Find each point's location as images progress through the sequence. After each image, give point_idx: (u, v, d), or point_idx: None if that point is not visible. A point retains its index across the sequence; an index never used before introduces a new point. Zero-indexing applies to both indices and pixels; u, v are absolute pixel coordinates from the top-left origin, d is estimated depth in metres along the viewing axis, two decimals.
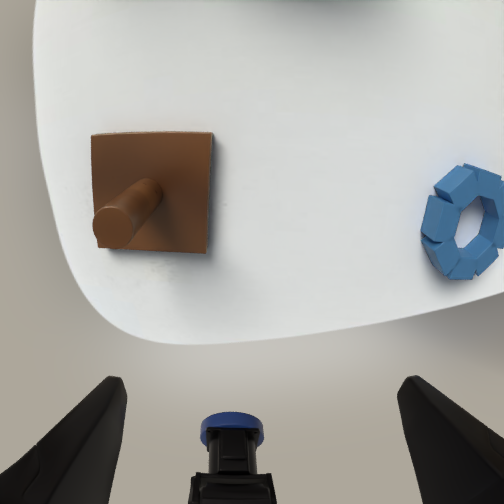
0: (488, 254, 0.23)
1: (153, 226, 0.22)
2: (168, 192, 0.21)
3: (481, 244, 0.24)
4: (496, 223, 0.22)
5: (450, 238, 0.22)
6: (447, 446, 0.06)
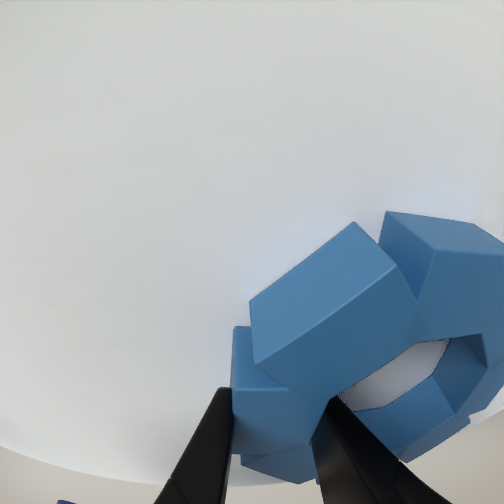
0: (439, 433, 0.09)
1: None
2: None
3: (427, 410, 0.09)
4: (478, 375, 0.08)
5: (293, 447, 0.08)
6: (347, 473, 0.06)
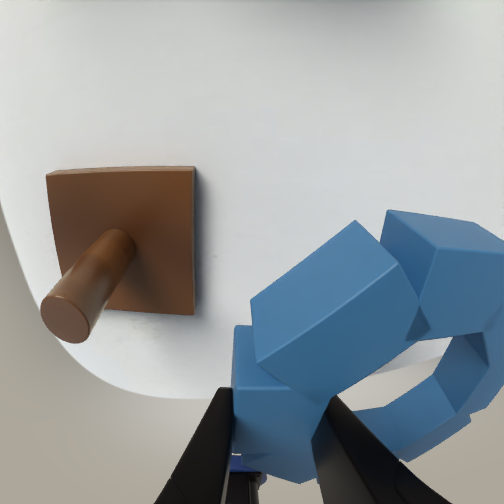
0: (440, 432, 0.09)
1: (128, 284, 0.17)
2: (142, 246, 0.16)
3: (428, 410, 0.09)
4: (479, 374, 0.08)
5: (294, 446, 0.08)
6: (347, 473, 0.06)
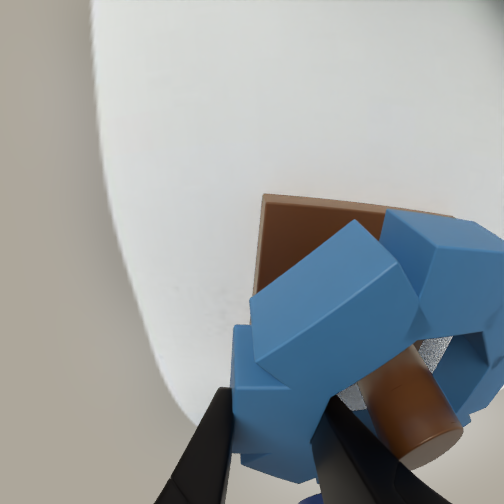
0: None
1: None
2: None
3: None
4: (479, 374, 0.08)
5: (294, 446, 0.08)
6: (347, 474, 0.06)
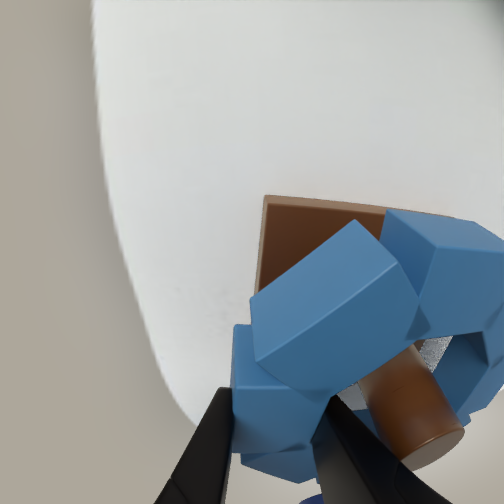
0: None
1: None
2: None
3: None
4: (479, 374, 0.08)
5: (294, 446, 0.08)
6: (347, 474, 0.06)
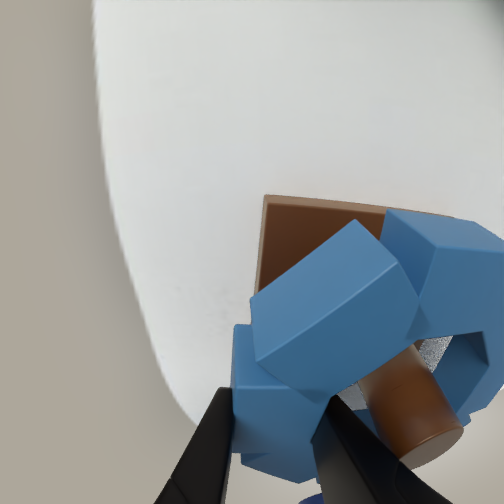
0: None
1: None
2: None
3: None
4: (479, 374, 0.08)
5: (294, 445, 0.08)
6: (348, 473, 0.06)
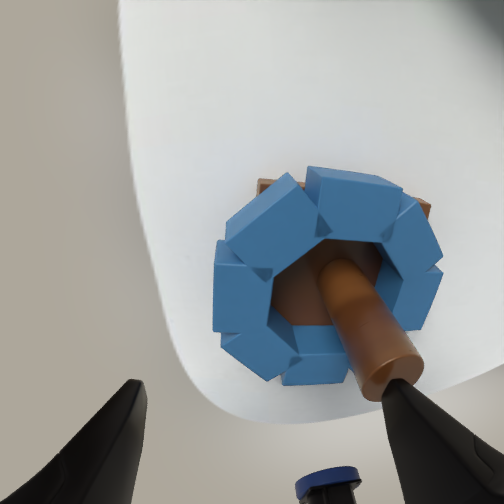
0: None
1: None
2: (368, 277, 0.15)
3: None
4: (398, 288, 0.13)
5: (256, 326, 0.13)
6: (430, 452, 0.06)
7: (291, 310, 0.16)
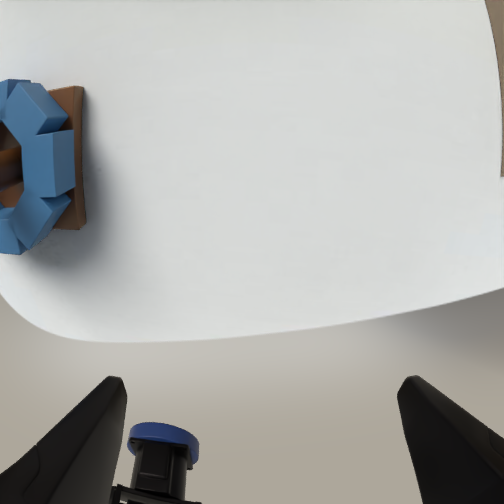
0: (26, 210, 0.14)
1: None
2: None
3: None
4: (23, 154, 0.12)
5: None
6: (447, 446, 0.06)
7: (1, 194, 0.15)
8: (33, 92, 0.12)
